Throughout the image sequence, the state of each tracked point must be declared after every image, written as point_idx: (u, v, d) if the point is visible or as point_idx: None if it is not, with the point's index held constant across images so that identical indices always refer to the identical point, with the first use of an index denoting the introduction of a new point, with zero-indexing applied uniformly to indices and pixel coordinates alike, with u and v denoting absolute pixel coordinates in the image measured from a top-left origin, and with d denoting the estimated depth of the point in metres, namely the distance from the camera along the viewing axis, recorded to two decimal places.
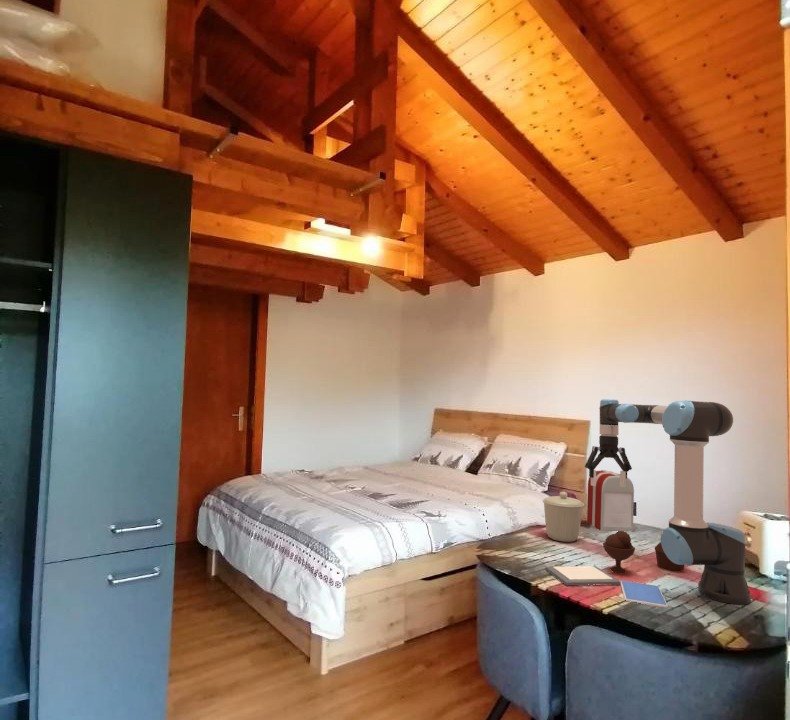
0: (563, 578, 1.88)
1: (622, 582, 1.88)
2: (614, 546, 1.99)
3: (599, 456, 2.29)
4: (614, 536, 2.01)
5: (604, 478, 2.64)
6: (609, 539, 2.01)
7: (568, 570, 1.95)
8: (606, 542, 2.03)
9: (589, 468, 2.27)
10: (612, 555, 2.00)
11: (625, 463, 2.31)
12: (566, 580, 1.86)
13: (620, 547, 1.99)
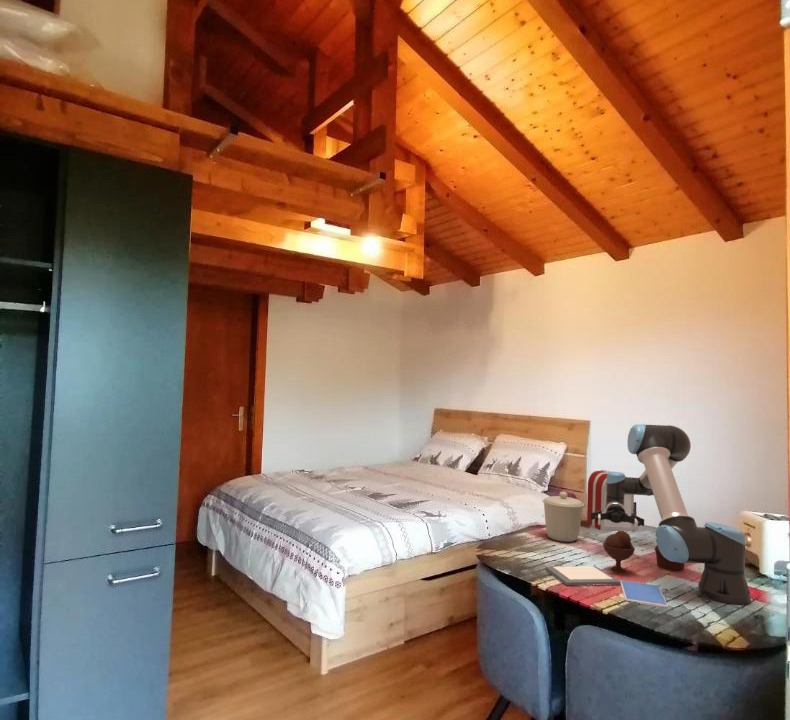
0: (563, 578, 1.88)
1: (622, 582, 1.88)
2: (614, 546, 1.99)
3: None
4: (614, 536, 2.01)
5: (604, 478, 2.64)
6: (609, 539, 2.01)
7: (568, 570, 1.95)
8: (606, 542, 2.03)
9: (593, 514, 2.22)
10: (612, 555, 2.00)
11: None
12: (566, 580, 1.86)
13: (620, 547, 1.99)
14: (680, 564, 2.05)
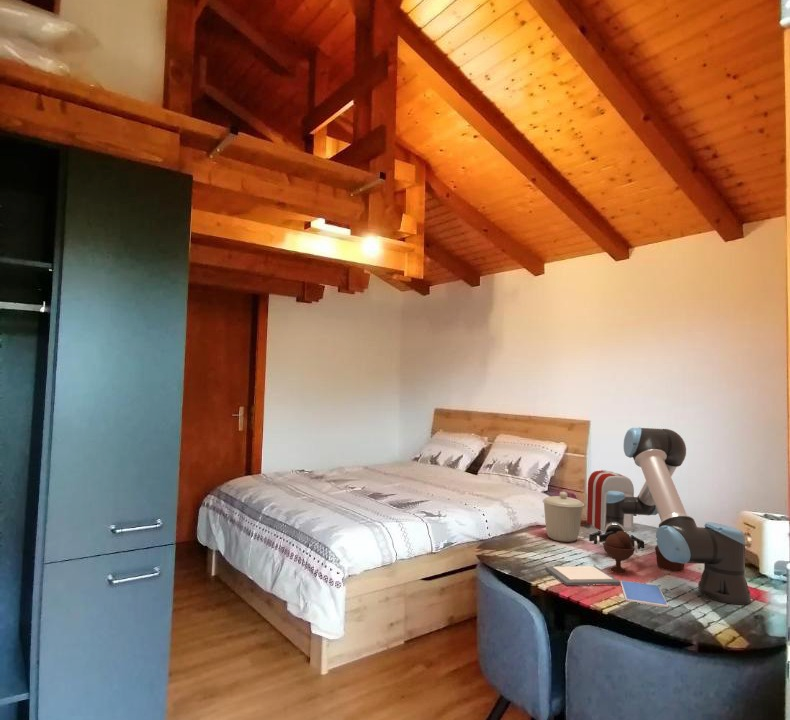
0: (563, 578, 1.88)
1: (622, 582, 1.88)
2: (614, 546, 1.99)
3: None
4: (614, 536, 2.01)
5: (604, 478, 2.64)
6: (609, 539, 2.01)
7: (568, 570, 1.95)
8: (606, 542, 2.03)
9: (592, 536, 2.17)
10: (612, 555, 2.00)
11: None
12: (566, 580, 1.86)
13: (620, 547, 1.99)
14: (680, 564, 2.05)
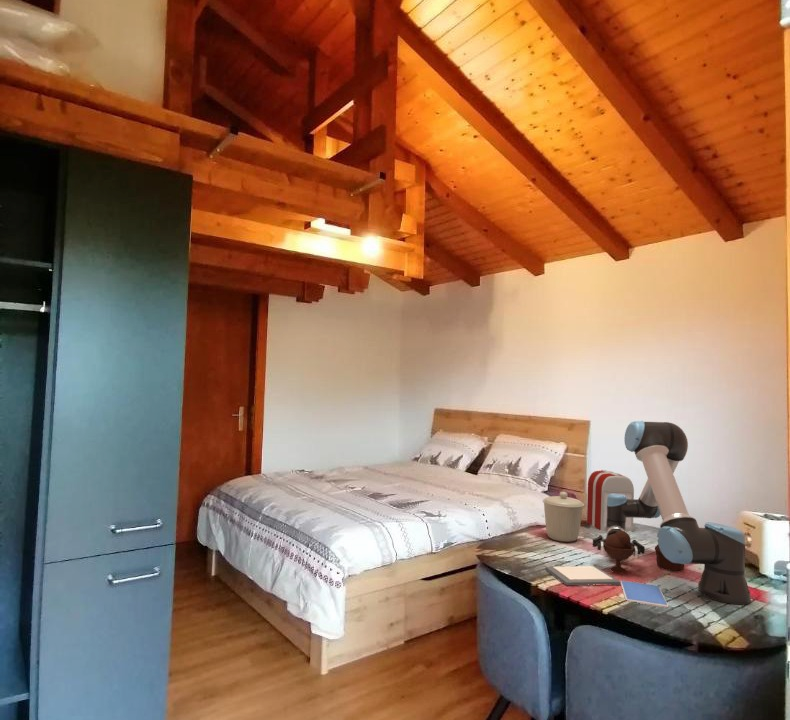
0: (563, 578, 1.88)
1: (622, 582, 1.88)
2: (614, 546, 1.99)
3: None
4: (614, 536, 2.01)
5: (604, 478, 2.64)
6: (609, 539, 2.01)
7: (568, 570, 1.95)
8: (606, 542, 2.03)
9: (595, 542, 2.08)
10: (612, 555, 2.00)
11: None
12: (566, 580, 1.86)
13: (620, 547, 1.99)
14: (680, 564, 2.05)
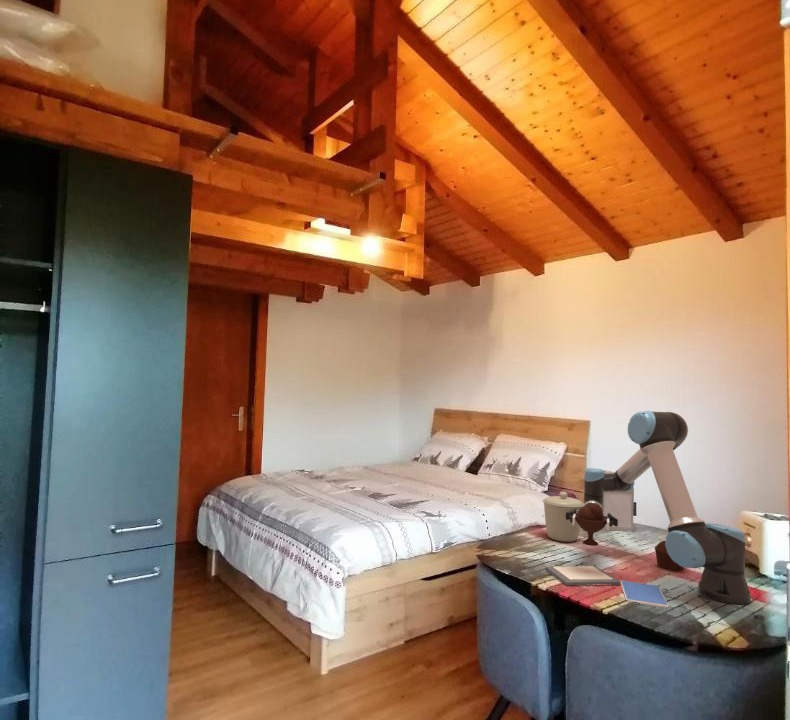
0: (563, 578, 1.88)
1: (622, 582, 1.88)
2: (585, 518, 1.95)
3: None
4: (586, 508, 1.97)
5: None
6: (581, 511, 1.97)
7: (568, 570, 1.95)
8: (578, 514, 1.98)
9: (568, 514, 2.04)
10: (583, 527, 1.95)
11: None
12: (566, 580, 1.86)
13: (591, 519, 1.94)
14: None
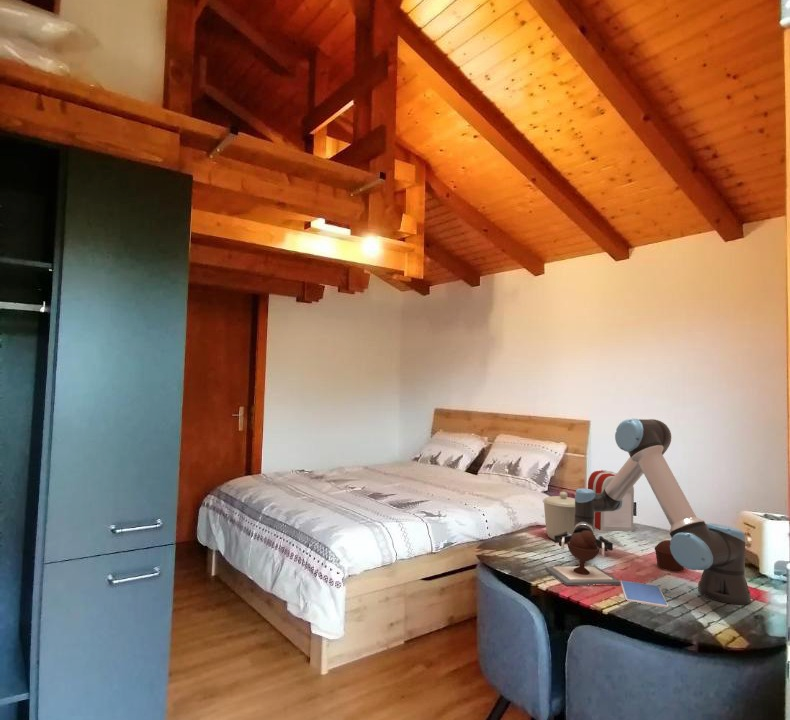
0: (563, 578, 1.88)
1: (622, 582, 1.88)
2: (578, 546, 1.90)
3: None
4: (579, 535, 1.92)
5: (604, 478, 2.64)
6: (573, 538, 1.93)
7: (568, 570, 1.95)
8: (570, 541, 1.94)
9: (557, 537, 2.01)
10: (575, 555, 1.91)
11: None
12: (566, 580, 1.86)
13: (584, 547, 1.90)
14: None
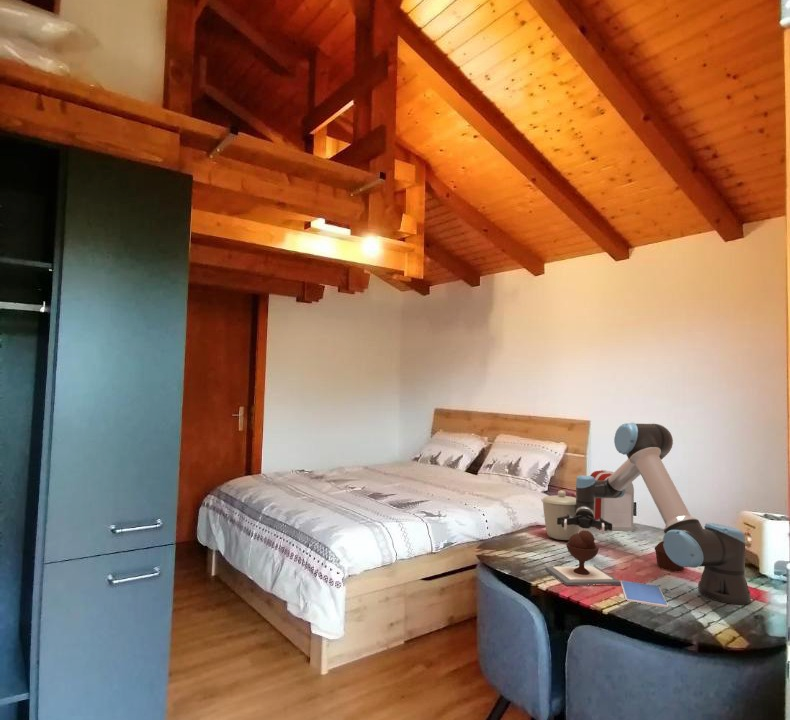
0: (563, 578, 1.88)
1: (622, 582, 1.88)
2: (577, 546, 1.90)
3: None
4: (577, 536, 1.93)
5: (604, 478, 2.64)
6: (572, 539, 1.93)
7: (568, 570, 1.95)
8: (569, 542, 1.94)
9: (559, 519, 2.13)
10: (575, 556, 1.91)
11: None
12: (566, 580, 1.86)
13: (583, 547, 1.90)
14: None
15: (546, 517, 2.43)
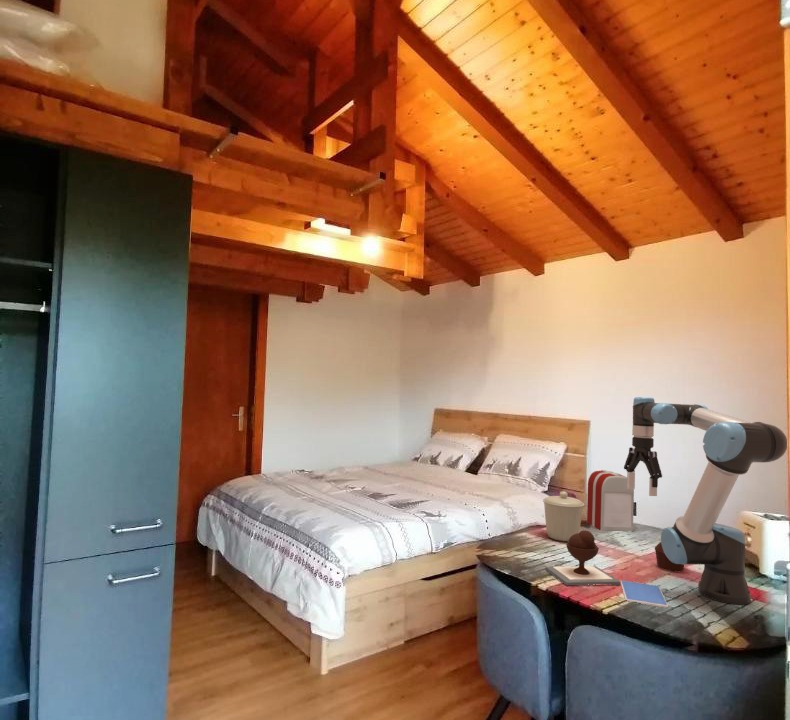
0: (563, 578, 1.88)
1: (622, 582, 1.88)
2: (577, 546, 1.90)
3: None
4: (577, 536, 1.93)
5: (604, 478, 2.64)
6: (572, 539, 1.93)
7: (568, 570, 1.95)
8: (569, 542, 1.94)
9: (626, 469, 2.18)
10: (575, 556, 1.91)
11: None
12: (566, 580, 1.86)
13: (583, 547, 1.90)
14: (680, 564, 2.05)
15: (547, 518, 2.43)
